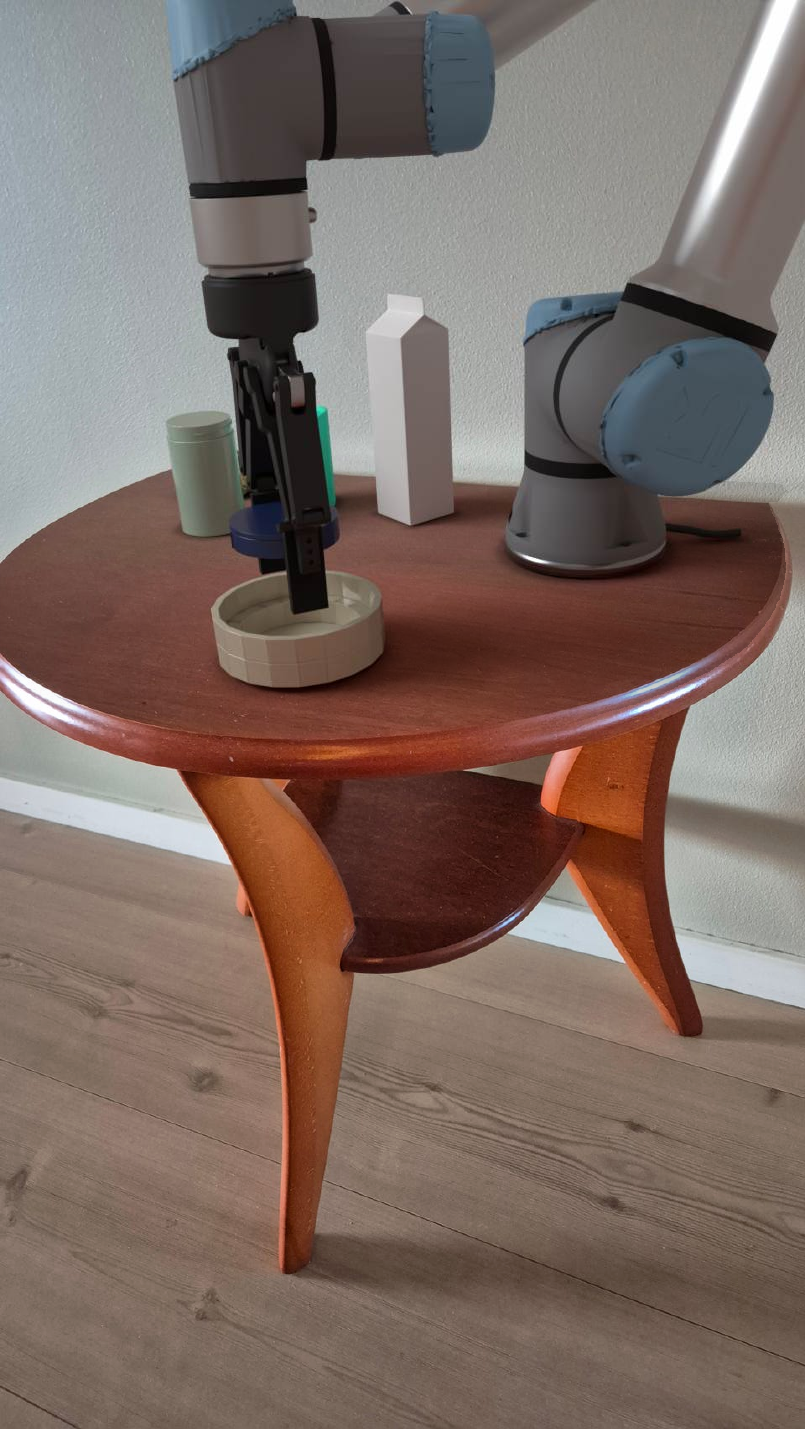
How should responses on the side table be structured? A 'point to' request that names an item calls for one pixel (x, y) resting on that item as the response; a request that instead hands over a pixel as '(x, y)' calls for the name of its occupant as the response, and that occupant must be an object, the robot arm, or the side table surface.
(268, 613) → the dish
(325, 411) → the candle
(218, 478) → the jar
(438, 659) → the side table surface
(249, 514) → the lid
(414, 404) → the milk
